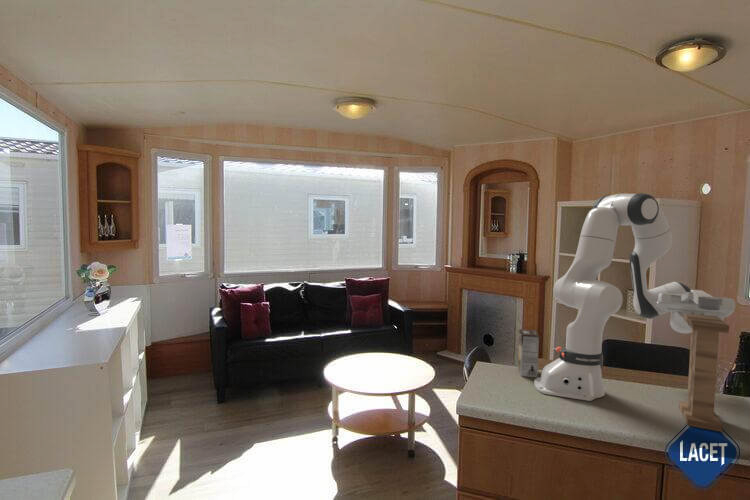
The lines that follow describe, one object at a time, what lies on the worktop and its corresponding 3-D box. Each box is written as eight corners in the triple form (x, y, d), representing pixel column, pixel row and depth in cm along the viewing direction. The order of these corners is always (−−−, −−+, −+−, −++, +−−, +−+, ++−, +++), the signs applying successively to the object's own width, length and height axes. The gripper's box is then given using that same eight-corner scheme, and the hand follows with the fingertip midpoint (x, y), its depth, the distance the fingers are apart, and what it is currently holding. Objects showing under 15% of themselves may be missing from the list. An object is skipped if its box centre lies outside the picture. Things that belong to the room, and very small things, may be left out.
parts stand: (722, 431, 120) (729, 325, 118) (687, 425, 123) (693, 322, 121) (710, 412, 132) (716, 316, 130) (679, 407, 136) (684, 313, 134)
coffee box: (517, 368, 171) (518, 328, 170) (534, 369, 169) (535, 329, 168) (520, 376, 162) (521, 334, 161) (538, 377, 160) (539, 335, 159)
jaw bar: (721, 311, 120) (722, 300, 119) (699, 309, 122) (700, 298, 122) (705, 299, 138) (705, 290, 138) (686, 298, 140) (686, 289, 140)
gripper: (654, 298, 152) (659, 283, 141) (727, 304, 142) (739, 288, 131) (654, 315, 149) (659, 301, 138) (728, 322, 140) (741, 307, 129)
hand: (699, 294), depth 135 cm, fingers closed on jaw bar, 3 cm apart
